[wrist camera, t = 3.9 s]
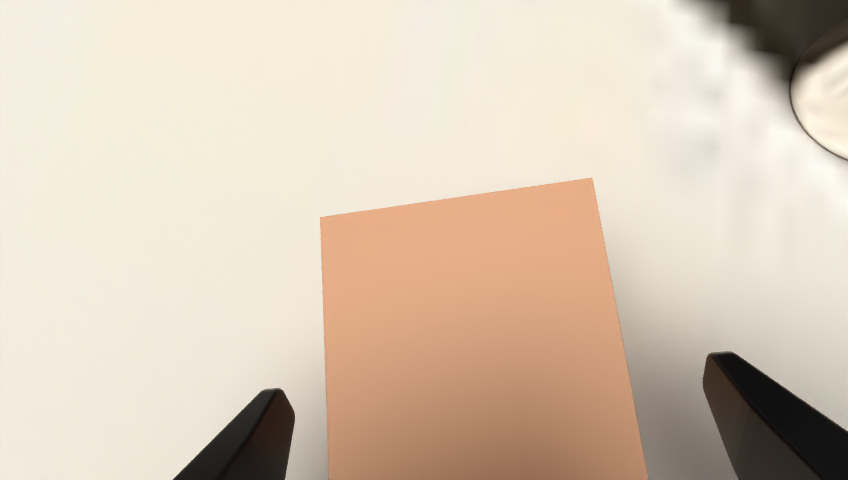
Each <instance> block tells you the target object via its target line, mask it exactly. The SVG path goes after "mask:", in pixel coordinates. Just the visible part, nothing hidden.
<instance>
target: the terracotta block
mask: <svg viewBox="0 0 848 480" xmlns="http://www.w3.org/2000/svg"><path fill="white" fill-rule="evenodd" d="M320 227H321V256H322V285H323V314H324V344H325V373H326V402H327V431H328V460H329V480H648V475H647V470H646V464H645V459H644V453H643V448H642V443H641V437H640V432H639V426H638V421H637V416H636V410H635V405H634V399H633V394H632V389H631V383H630V378H629V373H628V367H627V362H626V356H625V351H624V346H623V340H622V335H621V329H620V324H619V319H618V313H617V308H616V302H615V297H614V292H613V286H612V281H611V275H610V270H609V265H608V259H607V254H606V248H605V243H604V238H603V232H602V227H601V221H600V216H599V211H598V205H597V200H596V195H595V189H594V184H593V178H587V179H580V180H573V181H567V182H560V183H553V184H546V185H539V186H532V187H525V188H518V189H512V190H505V191H498V192H491V193H484V194H477V195H470V196H463V197H457V198H450V199H443V200H436V201H429V202H422V203H415V204H408V205H402V206H395V207H388V208H381V209H374V210H367V211H360V212H353V213H347V214H340V215H333V216H326V217H320Z"/></svg>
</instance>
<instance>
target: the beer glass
mask: <svg viewBox="0 0 848 480" xmlns="http://www.w3.org/2000/svg"><path fill="white" fill-rule="evenodd" d="M790 92H791V101H792V105H793V108H794V111H795V114H796V116H797V118H798V120H799V121H800V123H801V124H802V126H803V127H804V129H805V130H806V131H807V132H808V133H809V134H810V135H811V136H812V137H813V138H814V139H815V140H816V141H817V142H818V143H819V144H821V145H822V146H823V147H825V148H826V149H828V150H829V151H831V152H833V153H835V154H836V155H838V156H840V157H843V158H845V159H847V160H848V18H846V19H845V20H843V21H842V22H840V23H839V24H837V25H836V26H835V27H833V28H832V29H830V30H829V31H827V32H826V33H825V34H823V35H822V36H821V37H819V38H818V39H817V40H816V41H815V42H814V43H813V44H812V45H810V46H809V48H808V49H807V50H806V51H805V52H804V53H803V55H802V56H801V58H800V59H799V61H798V63H797V65H796V67H795V69H794V72H793V75H792V79H791V89H790Z"/></svg>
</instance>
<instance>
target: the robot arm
mask: <svg viewBox="0 0 848 480" xmlns="http://www.w3.org/2000/svg"><path fill="white" fill-rule="evenodd" d="M703 389H704V393H705V395H706V398H707V401H708V403H709V406H710V409H711V411H712V414H713V417H714V419H715V422H716V424H717V427H718V430H719V432H720V435H721V438H722V440H723V443H724V446H725V448H726V451H727V454H728V456H729V459H730V461H731V464H732V466H733V469H734V471H735V473H736V475H737V477H738V479H739V480H848V431H846V430H845V429H844V428H842V427H841V426H839V425H838V424H836V423H835V422H833V421H832V420H831V419H829V418H828V417H826V416H825V415H823V414H822V413H820V412H819V411H818V410H816V409H815V408H813V407H812V406H810V405H809V404H807V403H806V402H805V401H803V400H802V399H800V398H799V397H797V396H796V395H794V394H793V393H792V392H790V391H789V390H787V389H786V388H784V387H783V386H782V385H780V384H779V383H777V382H776V381H774V380H773V379H771V378H770V377H769V376H767V375H766V374H764V373H763V372H761V371H760V370H758V369H757V368H756V367H754V366H753V365H751V364H750V363H748V362H747V361H745V360H744V359H743V358H741V357H740V356H738V355H737V354H735V353H733V352H729V351H726V352H714V353H710V354H708V356H707V358H706V364H705V370H704V376H703ZM294 422H295V414H294V410H293V408H292V406H291V404H290V402H289V401H288V399H287V397H286V395H285V393H284V391H283V390H281V389H280V388H274V389H265V390H263V391H261V392H260V393H259V394H258V395H257V396H256V397H255V398H254V399H253V400H252V401H251V402H250V403H249V404H248V405H247V406H246V407H245V408H244V409H243V410H242V411H241V412H240V413H239V414H238V415H237V416H236V417H235V418H234V419H233V420H232V421H231V422H230V423H229V424H228V425H227V426H226V427H225V428H224V429H223V430H222V431H221V432H220V433H219V434H218V435H217V436H216V437H215V438H214V439H213V440H212V441H211V442H210V443H209V444H208V445H207V446H206V447H205V448H204V449H203V450H202V451H201V452H200V453H199V454H198V455H197V456H196V457H195V458H194V459H193V460H192V461H191V462H190V463H189V464H188V465H187V466H186V467H185V468H184V469H183V470H182V471H181V472H180V473H179V474H178V475H177V476H176V477H175V478H174V479H173V480H285V476H286V470H287V464H288V458H289V452H290V446H291V440H292V434H293V428H294Z"/></svg>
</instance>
